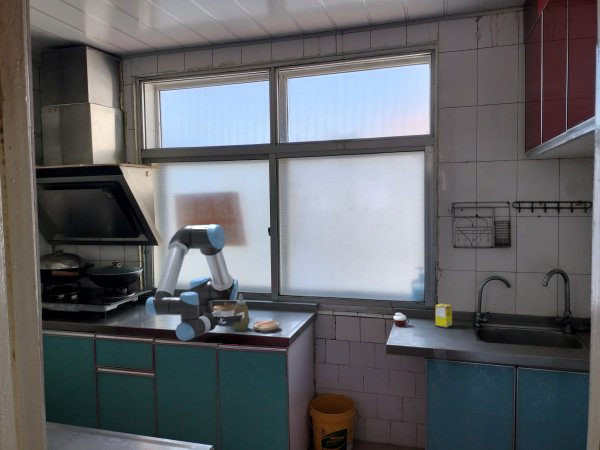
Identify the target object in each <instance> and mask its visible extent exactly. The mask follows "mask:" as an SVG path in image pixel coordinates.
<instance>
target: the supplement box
mask: <svg viewBox="0 0 600 450" xmlns="http://www.w3.org/2000/svg"><path fill="white" fill-rule="evenodd" d="M434 306H435V309H434V310H435V312H434V313H435V328H442V329H448V328H451V327H452V326H453V309H452V308H453V306H452V304H449V303H448V304H447V303H438V304H435V305H434Z"/></svg>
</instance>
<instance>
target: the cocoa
mask: <svg viewBox="0 0 600 450" xmlns="http://www.w3.org/2000/svg"><path fill="white" fill-rule="evenodd" d="M389 304H390V307H391V311H392V312H393V323H394V325H395V326H396V327H397V326H398V328H403V327H406V326H407V325H408V324H409V322H410V319H408V318H407V316H406V315H405V314H403V313H401V312H395V310H394V306H393V305H392V304H393V303H392V302H389Z"/></svg>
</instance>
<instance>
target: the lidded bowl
mask: <svg viewBox="0 0 600 450" xmlns="http://www.w3.org/2000/svg"><path fill="white" fill-rule="evenodd" d="M227 302H228V301H224V303H221V304H220V303H219V304H216V305H214V306H213V310H214V312H215V311H217V310H221V316H223V317H229V316H234V308H235V306H236V303H227ZM218 317H220V316H218ZM221 321H222V318H221ZM220 325H222V324H220ZM227 325H229V324H227ZM222 326H223V325H222Z"/></svg>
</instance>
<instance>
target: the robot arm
mask: <svg viewBox="0 0 600 450" xmlns="http://www.w3.org/2000/svg"><path fill="white" fill-rule="evenodd" d="M225 245H226V233H225V230H224V228H223V226H221V225H220V224H214V223H211V224H209V223H208V224H207V223H206V224H187V225H184V226H182V227H181V228H180V229H178V230H177V231H176V232H175V233H174V234H173V235H172V237H171V238H170V240H169V242H168V246H167V250H168V253H167V256H166V259H165V263H164V266H163V270H162V271H161V275H160V279H159V282H158V285H157V288H156V291H155V294H154V296H151V297H148V298H147V299H146V302H145V311H146V313H147V314H148V315H149V316H150V315H152V316H180V323H179V324H178V325H177V326H176V329H175V334H176V337H177V338H178V340H180V341H183V342H186V341H189V340H192V339H194V338H197V337H199V336H202V335H205V334H206V333H210V332H212V331H213V330H215V329H216V327H217V326H219V325H221V324H222V326H226V325H227V324H228V325H232V324H234V323H238V322H241V319H243V318H244V312H242V313H239V314H237V315H235V316H229V317H223V316H221V310H217V311H215V312H214V306H213V302H231V301H233V302H234V301H235V300H237V298H238V291H239V280H238V279H236V278H234V277H233V276H232V275H231V274H229V270H228V267H227V264H226V260H225V257H224V254H223V249H224V248H225ZM193 249H197V250H199V251H200V253H201V254H202V255H204V256H205V259H206V262H207V265H208V268H209V270H210V271H209V272H210V274H211V276H201V277H197V278H193V279H191V280H190V282H189V291H185V292H181V294H180V295H179V296H175V297H174V294H175V290H176V287H177V284H178V281H179V277H180V273H181V271H182V266H183V262H184V261H185V256H186V255H187V254H188V253H189V250H193ZM218 316H220V317H218ZM221 318H222V321H221Z"/></svg>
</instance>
